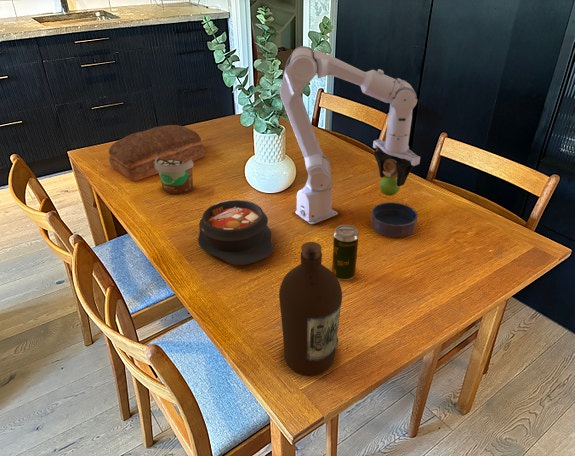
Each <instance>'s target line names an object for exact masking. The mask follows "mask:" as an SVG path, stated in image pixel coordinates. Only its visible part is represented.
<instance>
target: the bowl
mask: <svg viewBox="0 0 575 456" xmlns="http://www.w3.org/2000/svg"><path fill="white" fill-rule="evenodd" d="M418 219H419V215H418V211H416V209H414V208H413V207H411V206H410V205H407V204H404V203H401V202H396V201H395V202H393V201H390V202H381V203H379V204H378V203H377V204H375V206H373V207H372V209H371V211H370V220H369V223H370V227H371V228H372V230H373V231H375V232H376V233H378V234H380V235H382V236H384V237H387V238H392V239H393V238H395V239H398V238H405V237H409V236H411V235H413V234H414V233H415V232H416V230H417V225H418Z"/></svg>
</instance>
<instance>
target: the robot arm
mask: <svg viewBox="0 0 575 456" xmlns="http://www.w3.org/2000/svg"><path fill="white" fill-rule="evenodd" d="M384 73H385V72H384V70H383V69H380V68H378V69H377V70H375V69H370V70H368V71H364V70H361V69H359V68H357V67H355V66H353V65H351V64H349V63H346V62H345V61H342V60H341V59H338V58H336V57H334V56H332V55H331V54H328V53H326V52H323V51H321V50H318V49H314V50H313V49H312V48H311V47H309V46H306V45H301V46H298V47H296V48H295V49H293V50H292V52H291V54H290V56H289V57H288V59H287V61H286V63H285V66H284V72H283V76H282V80H281V86H280V89H279V97H280V100H281V103H282V105H283V107H284V110H285V112H286V114H287V117H288V120H289V123H290V125H291V128H292V131H293V133H294V135H295V138H296V140H297V143H298V146H299V149H300V151H301V153H302V156H303V159H304V164H305V169H306V171H307V175H308V177H307V180H306V181H305V185H304V187H302V188H301V189H299V190H298V191H297V193H296V210H294V213H295V214H296V215H297V216H299V217H300V218H301V219H302V220H304V221H305V222H306V223H308V224H309V225H315V224H318V223H321V222H322V221H325V220H327V219H330V218H332V217H335V216H338V214H339V212H338V211H336V210H334V209H333V208H332V206H333V185H334V184H333V176H332V170H331V168H332V164H331V163H332V162H331V161H330V160H329V159H328V158H327V157H326V156H325V154H324V152H323V149H322V148H321V147H320V144H319V141H318V138H317V135H316V133H315V130H314V127H313V124H312V122H311V120H310V117H309V114H308V111H307V108H306V106H305V103H304V100H303V97H302V92H303V90H304V88H305V86H306V85H308V84H309V83H310V82H311V81H313V79H314V78H315V76H316V74H317V79H321V78H324V77H326V76H332V77H334V78H337V79H341V80H343V81H346V82H348V83H351V84H354V85H357V86H359V87H360V90H361V92H362V93H363V94H364V95H366V96H369V97H371V98H374V99H376V100H379V101H380V102H383V103H386V104H389V111H388V115H387V125H386V133H385V140H382V139H379V138H378V139H375V140H373V142H372V148H373V149H377V150H376V151H374V152H373V156H374V158H375V161H376V164H377V166H378V172H379V178H381V179H383V178H384V177H386V176H385V175H384V173H383V171H385V170H384V168H383V163H384V161H385V160H387V159H392V157H396V158H398V159H400V161H399V160H398V161H396V167H397V177H396V178H397V186H400V187H401V186H404V185H405V183H406V181H407V179H408V177H409V175H410V173H411V171H412V170H413V169H414V168H415V166H418V165H420V162H421V156H419V155H417V154H416V153H415V152H413V151H412V150H411V149H410V146H409V143H410V142H409V141H410V134H411V127H412V121H413V110H414V108H415V107H416V106H417V103H418V98H417V97H418V96H417V93H416V91H415V89H414V88H413V86H412V85H411V83H409V82H407V80H406V79H405V80H404V79H401V78H399V77H397V78H393V77H391V76H389V75H387V74H384Z"/></svg>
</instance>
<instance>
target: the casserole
mask: <svg viewBox="0 0 575 456" xmlns="http://www.w3.org/2000/svg"><path fill="white" fill-rule="evenodd" d="M268 221H269V219H268V216H267V214H266V213H265V212H264V210H263V208H261V206H259V205H258V204H257V203H254V202H252V201H249V200H243V199H230V200H224V201H220V202H217V203H214V204H213V205H210V206H209V207H207V209H206V210H205V211H204V212H203V214H202V217H201V219H200V220H199V224H198V225H199V233H198V237H197V241H198V245H199V247H200V248H201V249H202V251H204V252H205V253H206V254H208V255H211V256H214V257H217V258H219V259H221V260H224V261H225V262H226V263H228V264H230V265H234V266H243V265H250V264H253V263H257V262H260V261H262V260H265V259H266V258H268V257H269V256H271V255H272V254H273V251H274V250H275V248H274V245H273V241H272V231H271V229H270V227H269V226H268Z"/></svg>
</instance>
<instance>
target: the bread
mask: <svg viewBox="0 0 575 456" xmlns="http://www.w3.org/2000/svg"><path fill="white" fill-rule="evenodd" d="M205 154H206V151H205V146H204V145H203V143H202V138H201V136H200V135H199V134H198V133H197V132H196V131H195V130H193V129H191V128H188V127H186V126H183V125H177V124H168V125H167V124H166V125H160V126H155V127H152V128H149V129H146V130H143V131H138V132H134V133H131V134H129V135H127V136H125V137H123V138H121V139H118V140H117V141H115V142H114V143H112V144H111V146H110V147H109V149H108V155H109V161H108V162H109V165H110V166H111V167H112V168H113V169H114V170H116V171H117V172H119V173H120V174H122V175H124V176H125V177H126V178H127V179H128V180H130V181H132V182H137V181H140V180H142V179H145V178H146V179H147V178H149V177H152V176H155V175H157V174H159V172H158V170H157V169H155V159H156V157H157V156H158V159H163V160H171V159H175V160H179V161H185V162H188V161H190V160H191V159H192V161H193V162H194V161H196V160H199V159H202V158H204V157H205Z"/></svg>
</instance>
